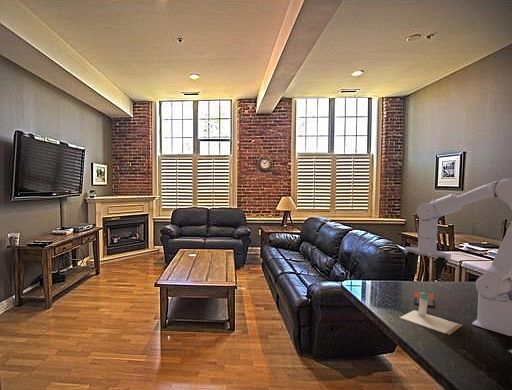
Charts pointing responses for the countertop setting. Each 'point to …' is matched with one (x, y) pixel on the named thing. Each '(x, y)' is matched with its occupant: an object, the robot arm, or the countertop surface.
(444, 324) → the notepad
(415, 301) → the phone
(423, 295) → the marker
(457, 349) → the countertop surface
